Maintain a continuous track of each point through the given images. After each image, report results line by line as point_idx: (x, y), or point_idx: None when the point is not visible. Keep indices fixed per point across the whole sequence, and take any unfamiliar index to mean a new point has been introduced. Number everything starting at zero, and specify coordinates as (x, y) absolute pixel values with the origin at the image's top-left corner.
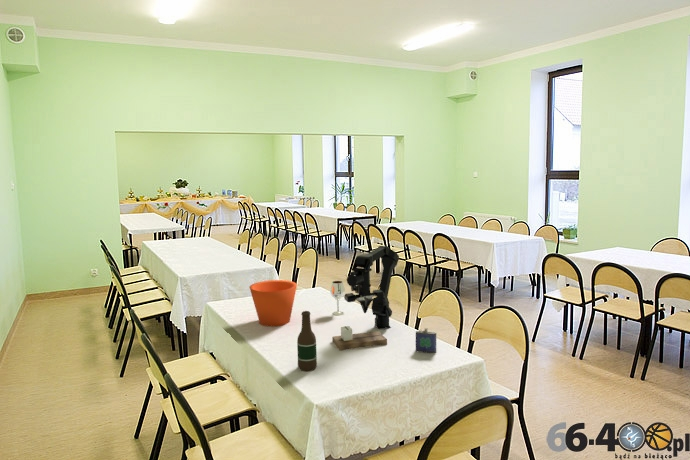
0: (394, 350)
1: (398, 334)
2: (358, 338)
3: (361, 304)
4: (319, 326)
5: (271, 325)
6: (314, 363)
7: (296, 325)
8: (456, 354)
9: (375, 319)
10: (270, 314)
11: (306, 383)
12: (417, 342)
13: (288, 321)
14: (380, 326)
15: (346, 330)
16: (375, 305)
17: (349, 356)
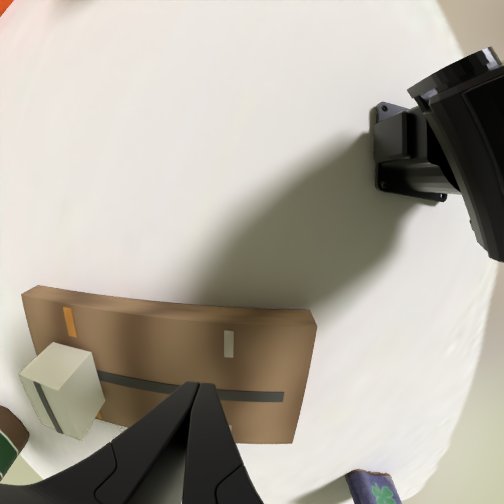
0: (281, 467)
1: (420, 322)
2: (141, 390)
3: (98, 485)
4: (58, 31)
5: None
6: (22, 448)
7: (9, 26)
8: (410, 483)
9: (399, 130)
10: None
11: (33, 462)
12: (354, 500)
13: (7, 3)
14: (397, 176)
15: (53, 427)
16: (499, 166)
17: (102, 442)
